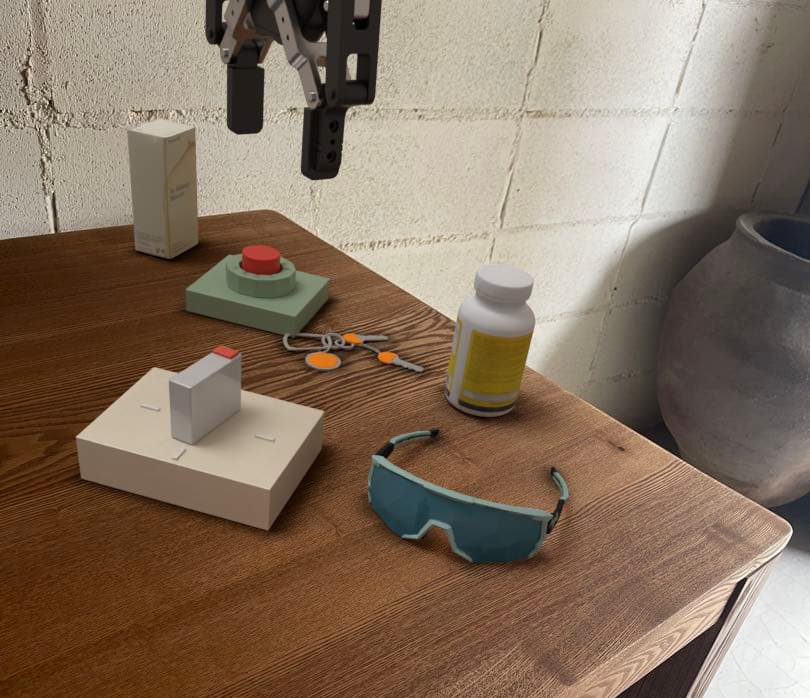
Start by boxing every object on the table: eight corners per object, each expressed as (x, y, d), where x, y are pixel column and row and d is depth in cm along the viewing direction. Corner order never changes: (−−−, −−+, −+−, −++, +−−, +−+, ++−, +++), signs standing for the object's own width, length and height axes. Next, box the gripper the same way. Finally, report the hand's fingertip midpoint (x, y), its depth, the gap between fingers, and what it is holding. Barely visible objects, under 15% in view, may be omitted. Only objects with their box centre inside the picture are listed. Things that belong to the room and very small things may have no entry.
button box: (185, 311, 82) (184, 270, 80) (229, 274, 90) (229, 236, 87) (294, 338, 81) (296, 298, 78) (328, 298, 88) (331, 261, 86)
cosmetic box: (170, 261, 90) (165, 138, 83) (132, 251, 91) (124, 128, 83) (200, 243, 95) (198, 125, 87) (164, 233, 96) (159, 116, 88)
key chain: (284, 370, 76) (284, 361, 76) (281, 331, 82) (282, 323, 81) (425, 377, 79) (426, 369, 78) (413, 339, 84) (414, 331, 84)
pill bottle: (526, 419, 75) (558, 292, 68) (456, 422, 73) (482, 292, 66) (499, 381, 80) (526, 259, 72) (433, 383, 78) (455, 258, 70)
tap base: (80, 478, 60) (75, 434, 58) (156, 405, 69) (153, 364, 66) (268, 531, 59) (270, 487, 56) (321, 449, 67) (325, 409, 65)
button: (235, 272, 82) (236, 254, 81) (250, 259, 85) (251, 242, 84) (271, 280, 81) (272, 262, 80) (285, 267, 84) (286, 250, 83)
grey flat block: (192, 445, 59) (190, 384, 56) (170, 437, 59) (167, 376, 56) (241, 409, 63) (242, 350, 60) (220, 401, 64) (220, 343, 61)
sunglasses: (337, 522, 60) (348, 459, 57) (410, 447, 72) (421, 392, 70) (530, 591, 57) (550, 528, 55) (571, 500, 69) (589, 445, 67)
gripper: (156, -220, 44) (169, 122, 54) (310, -195, 36) (290, 201, 46) (283, -197, 48) (272, 117, 58) (446, -170, 40) (400, 188, 50)
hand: (280, 154), depth 52 cm, fingers open, 8 cm apart
